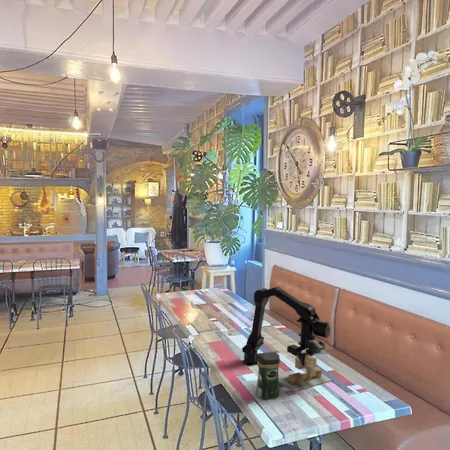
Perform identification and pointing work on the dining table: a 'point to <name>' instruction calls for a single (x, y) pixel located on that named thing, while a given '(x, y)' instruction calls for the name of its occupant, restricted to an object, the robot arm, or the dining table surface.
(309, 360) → the birch plate
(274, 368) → the coffee jar
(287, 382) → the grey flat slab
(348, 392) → the dining table surface
